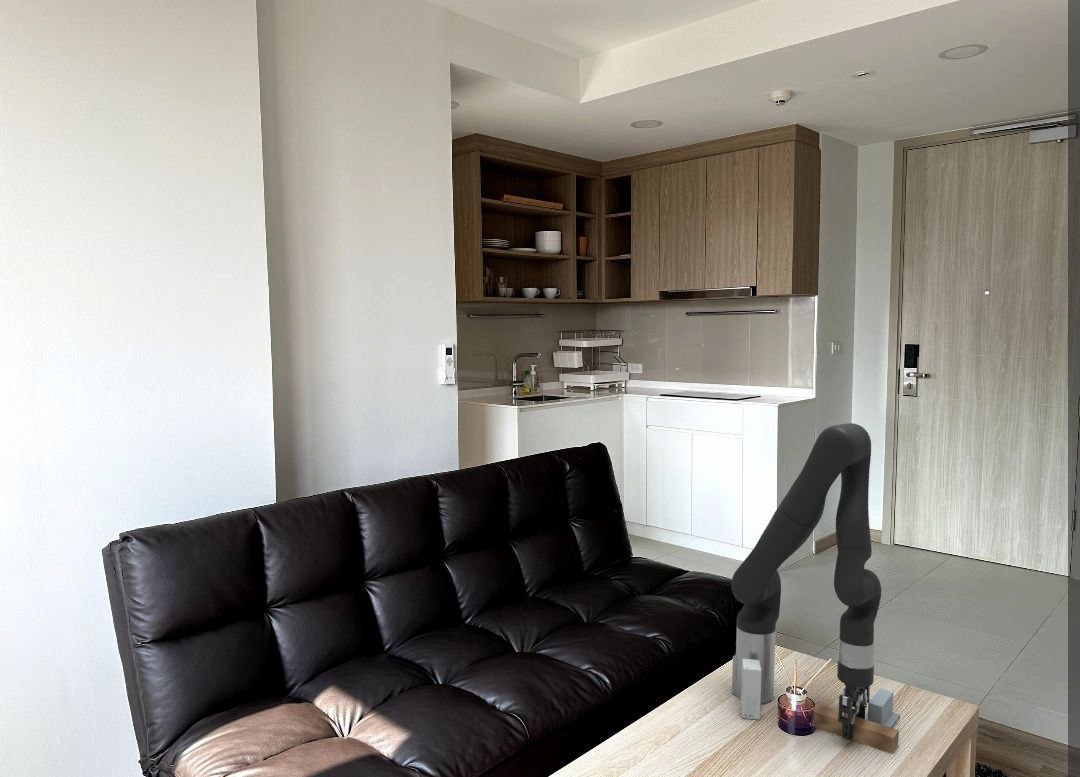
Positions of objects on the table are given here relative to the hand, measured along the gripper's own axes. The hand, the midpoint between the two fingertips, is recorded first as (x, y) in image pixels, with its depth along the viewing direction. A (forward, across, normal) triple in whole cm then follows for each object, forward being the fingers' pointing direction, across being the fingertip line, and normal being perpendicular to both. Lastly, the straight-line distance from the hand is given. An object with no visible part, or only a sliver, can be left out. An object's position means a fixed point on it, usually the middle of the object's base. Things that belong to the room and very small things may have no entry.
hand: (853, 730), depth 173 cm
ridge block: (+1, -10, +3) cm, 10 cm away
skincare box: (+1, +5, -22) cm, 23 cm away
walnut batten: (+1, 0, 0) cm, 1 cm away
